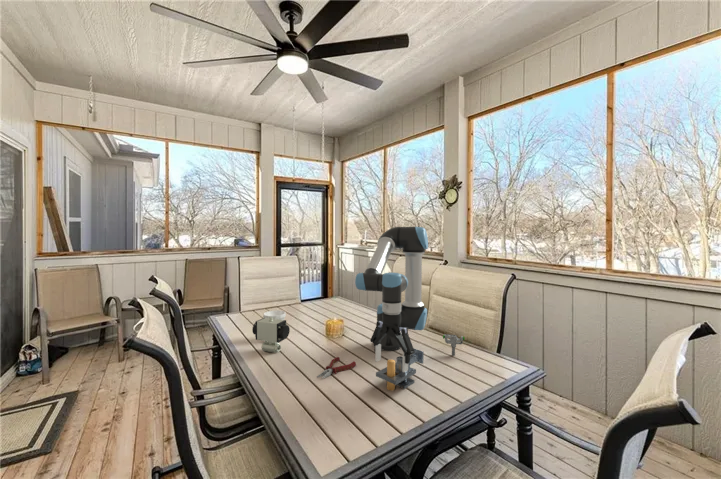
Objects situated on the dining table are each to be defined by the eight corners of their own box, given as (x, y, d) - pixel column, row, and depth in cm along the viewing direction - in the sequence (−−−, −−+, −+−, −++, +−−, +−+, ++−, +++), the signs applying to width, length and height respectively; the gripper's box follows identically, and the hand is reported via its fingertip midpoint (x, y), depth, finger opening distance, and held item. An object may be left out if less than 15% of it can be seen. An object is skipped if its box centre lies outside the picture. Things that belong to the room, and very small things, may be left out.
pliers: (309, 377, 134) (309, 371, 134) (337, 360, 151) (337, 355, 150) (330, 384, 127) (330, 378, 127) (357, 366, 144) (357, 361, 144)
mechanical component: (464, 357, 154) (464, 337, 154) (443, 355, 156) (443, 335, 156) (463, 355, 157) (463, 335, 157) (442, 353, 159) (442, 334, 159)
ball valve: (291, 350, 162) (291, 316, 161) (282, 356, 154) (282, 321, 153) (262, 346, 168) (262, 313, 167) (252, 351, 160) (251, 317, 159)
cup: (258, 341, 174) (258, 314, 174) (272, 334, 186) (272, 309, 185) (276, 344, 170) (276, 317, 169) (290, 337, 181) (290, 311, 181)
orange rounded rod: (385, 388, 123) (385, 361, 123) (390, 385, 126) (390, 358, 125) (391, 391, 121) (391, 363, 121) (396, 388, 123) (396, 361, 123)
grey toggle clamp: (375, 387, 124) (375, 362, 124) (409, 369, 141) (409, 347, 140) (395, 396, 117) (396, 370, 117) (428, 376, 134) (428, 353, 134)
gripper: (362, 308, 128) (361, 359, 129) (412, 320, 111) (412, 379, 112) (374, 305, 134) (373, 354, 134) (424, 316, 116) (423, 372, 117)
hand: (391, 365), depth 123 cm, fingers open, 13 cm apart
